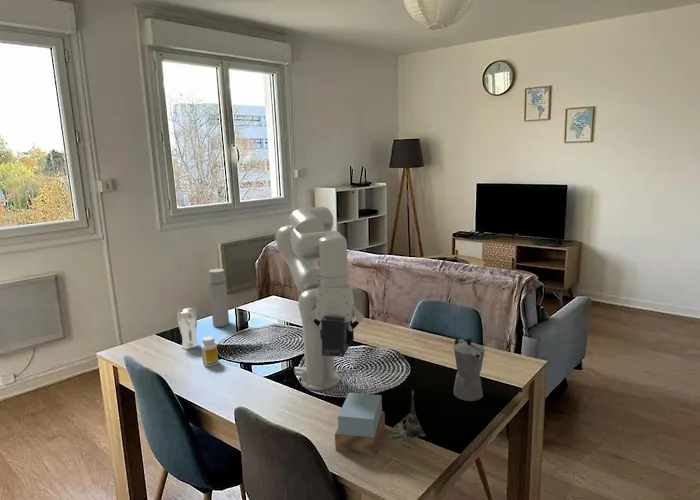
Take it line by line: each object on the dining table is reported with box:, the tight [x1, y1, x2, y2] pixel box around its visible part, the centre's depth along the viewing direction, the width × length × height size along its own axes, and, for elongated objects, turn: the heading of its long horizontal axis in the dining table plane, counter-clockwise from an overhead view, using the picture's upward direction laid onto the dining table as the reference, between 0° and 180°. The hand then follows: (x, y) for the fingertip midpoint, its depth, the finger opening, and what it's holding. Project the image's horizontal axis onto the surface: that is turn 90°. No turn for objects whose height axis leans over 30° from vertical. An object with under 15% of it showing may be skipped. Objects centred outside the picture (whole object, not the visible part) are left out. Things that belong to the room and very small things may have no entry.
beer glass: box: [176, 307, 199, 350], centre depth 192 cm, size 7×7×15 cm
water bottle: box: [207, 268, 230, 328], centre depth 214 cm, size 9×8×25 cm
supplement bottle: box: [200, 335, 219, 367], centre depth 176 cm, size 5×5×10 cm
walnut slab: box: [334, 410, 386, 457], centre depth 127 cm, size 10×13×5 cm
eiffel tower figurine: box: [388, 390, 427, 451], centre depth 129 cm, size 15×10×13 cm
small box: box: [321, 317, 351, 358], centre depth 136 cm, size 11×6×10 cm, turn 168°
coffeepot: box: [453, 337, 485, 402], centre depth 148 cm, size 15×9×18 cm, turn 13°
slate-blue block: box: [337, 392, 383, 438], centre depth 126 cm, size 9×12×5 cm
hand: (337, 341), depth 136 cm, fingers closed on small box, 6 cm apart
